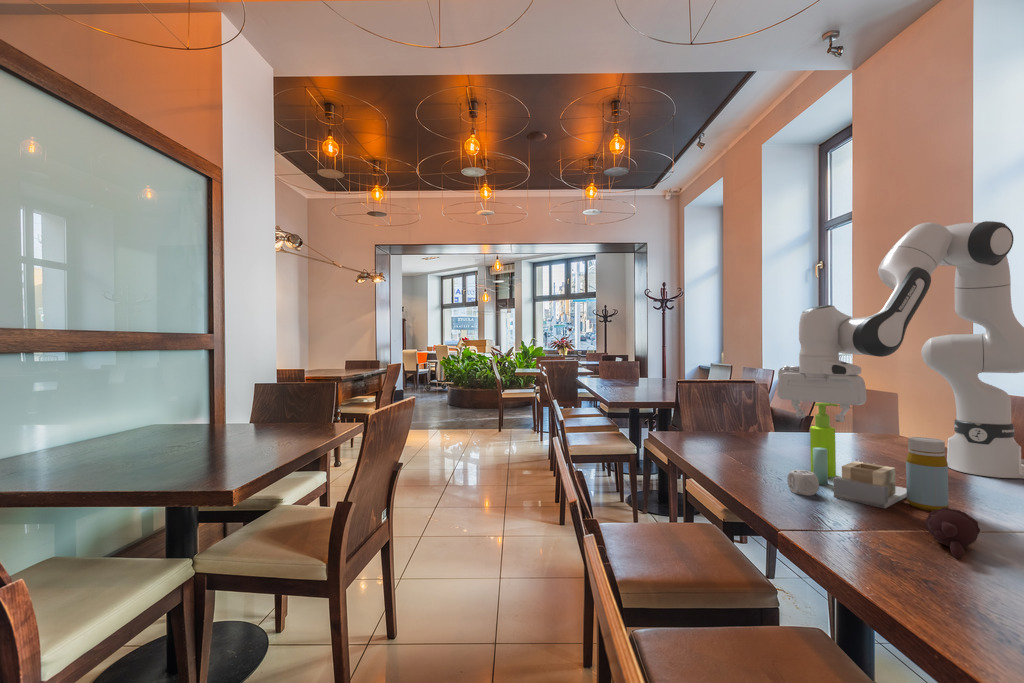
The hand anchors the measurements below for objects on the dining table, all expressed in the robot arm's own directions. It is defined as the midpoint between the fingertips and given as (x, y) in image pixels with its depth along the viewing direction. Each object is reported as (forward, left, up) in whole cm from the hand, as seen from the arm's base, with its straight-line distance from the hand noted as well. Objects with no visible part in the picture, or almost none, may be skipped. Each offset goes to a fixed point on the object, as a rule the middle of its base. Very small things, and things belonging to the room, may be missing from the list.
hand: (819, 419), depth 124 cm
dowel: (0, 0, -17) cm, 17 cm away
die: (+12, +1, -17) cm, 21 cm away
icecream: (+23, +31, -17) cm, 42 cm away
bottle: (+1, +22, -17) cm, 28 cm away
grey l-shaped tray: (+1, +12, -17) cm, 21 cm away
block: (+4, +12, -16) cm, 20 cm away
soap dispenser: (-10, -3, -17) cm, 20 cm away
